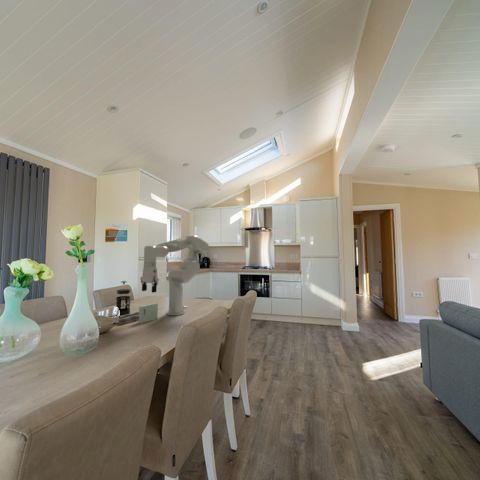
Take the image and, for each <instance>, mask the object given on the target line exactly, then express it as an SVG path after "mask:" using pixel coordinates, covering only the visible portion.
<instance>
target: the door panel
mask: <svg viewBox="0 0 480 480" xmlns="http://www.w3.org/2000/svg"><path fill="white" fill-rule="evenodd" d="M158 306H159V305H158V303H156V302H153V303H149V304H144V305H139V309H138V310H139V311H138V312H139V321H138V322H139V324H143V323H147V322H149V321H150V320H151V321H154V320H156V319H157V320H158V310H159V307H158Z"/></svg>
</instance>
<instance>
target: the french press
mask: <svg viewBox="0 0 480 480" xmlns="http://www.w3.org/2000/svg"><path fill="white" fill-rule="evenodd" d="M121 283H122V284H123V285H125V284H126V283H128V281H126V280H125V281H121ZM130 293H131V289H130V288H129V289H128V288H125V286H123V289H122V288H121V289H116V294H117V295H119V296H116V299H115V300H116V306H115V308H116V307H118V308H119V310H120V316H122V315H127V314H131V312H130V311H131V309H130V308H131V307H130V306H131V296H129V295H128V294H130ZM121 295H122V296H121Z"/></svg>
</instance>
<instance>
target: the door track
mask: <svg viewBox="0 0 480 480" xmlns="http://www.w3.org/2000/svg"><path fill="white" fill-rule="evenodd" d="M135 322H139V311H136V312H130V314H127V315H122V316H120V317H119V319H118V322H117V323H116V324H115V325H118V326H123V325H127V324H130V323H135Z"/></svg>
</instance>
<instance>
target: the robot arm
mask: <svg viewBox="0 0 480 480" xmlns="http://www.w3.org/2000/svg"><path fill="white" fill-rule="evenodd" d="M187 248H189V255H188V257H187V258H185V259H184V260H183V261H182V262H181V263H180V264H179V268H174V269H170V271H169V272H168V274H167V278H168V285H169V287H168V289H169V290H168V291H169V292H168V311H165V312H166V315H167V316H181V315H184V314H185V309H188V306H187V305H184V306H183V300H184V299H183V298H184V297H183V296H184V295H183V294H184V293H183V292H184V288H183V287H184V286H183V284H187V283H189V282H190V281H192V279H193V278H194V277H195V276H197V275H198V273H199V271H200V268H201V267H200V266H201V265H200V263H199V261H200V257H199V254H207V253H208V252H209V251H210V244H209V243H208V242H206V241H205V240H203V239H202V238H201V237H199V236H198V235H185V236H182V237H179V238H177V239H174V240H169V241H167V242H166V241H165V242H163V243H158V244H155V245H146V246H144V250H143V267H142V275H141V277H140V279H139V280H140V282H141V291H142V292H146V291H148V290H147V289H148V284H151V293H157V289H158V288H157V287H158V284H159V281H160V278H158V268H157V258H165V257H167V256H168V255H169V253H175V252H179V251H182V250H185V249H187Z"/></svg>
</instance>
